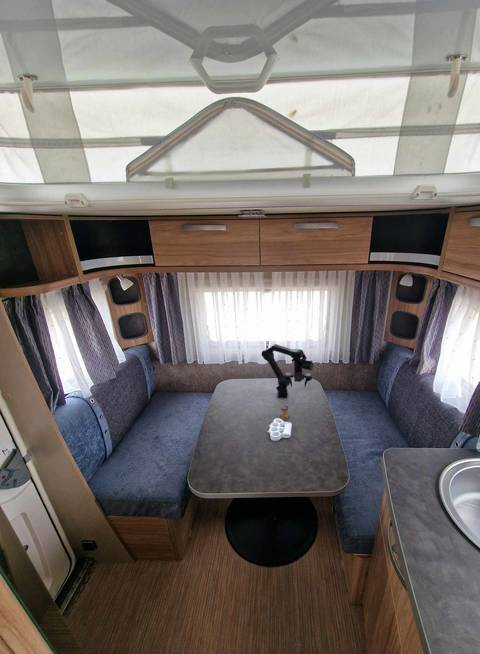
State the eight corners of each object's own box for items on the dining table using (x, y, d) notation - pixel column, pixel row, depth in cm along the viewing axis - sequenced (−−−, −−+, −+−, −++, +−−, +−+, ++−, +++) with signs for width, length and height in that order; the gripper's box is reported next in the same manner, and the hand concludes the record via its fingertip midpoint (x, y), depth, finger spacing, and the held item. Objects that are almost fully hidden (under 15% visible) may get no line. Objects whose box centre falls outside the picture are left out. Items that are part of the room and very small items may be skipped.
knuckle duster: (289, 442, 167) (265, 440, 169) (292, 423, 183) (269, 421, 185) (289, 437, 165) (265, 435, 167) (292, 419, 181) (269, 417, 184)
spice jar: (280, 419, 187) (280, 409, 184) (281, 415, 191) (281, 405, 188) (287, 419, 187) (287, 409, 183) (288, 415, 191) (288, 405, 187)
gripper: (283, 372, 191) (284, 392, 197) (311, 372, 188) (311, 393, 194) (285, 365, 201) (285, 384, 207) (311, 365, 198) (311, 385, 205)
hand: (298, 386), depth 203 cm, fingers open, 9 cm apart
